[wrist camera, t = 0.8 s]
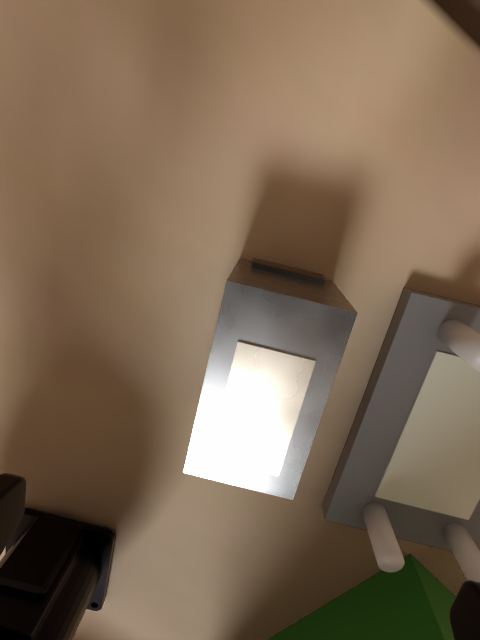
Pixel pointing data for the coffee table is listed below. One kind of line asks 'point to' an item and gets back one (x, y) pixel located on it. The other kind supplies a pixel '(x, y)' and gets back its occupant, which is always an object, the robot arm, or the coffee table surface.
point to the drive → (268, 376)
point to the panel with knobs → (417, 438)
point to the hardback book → (382, 610)
